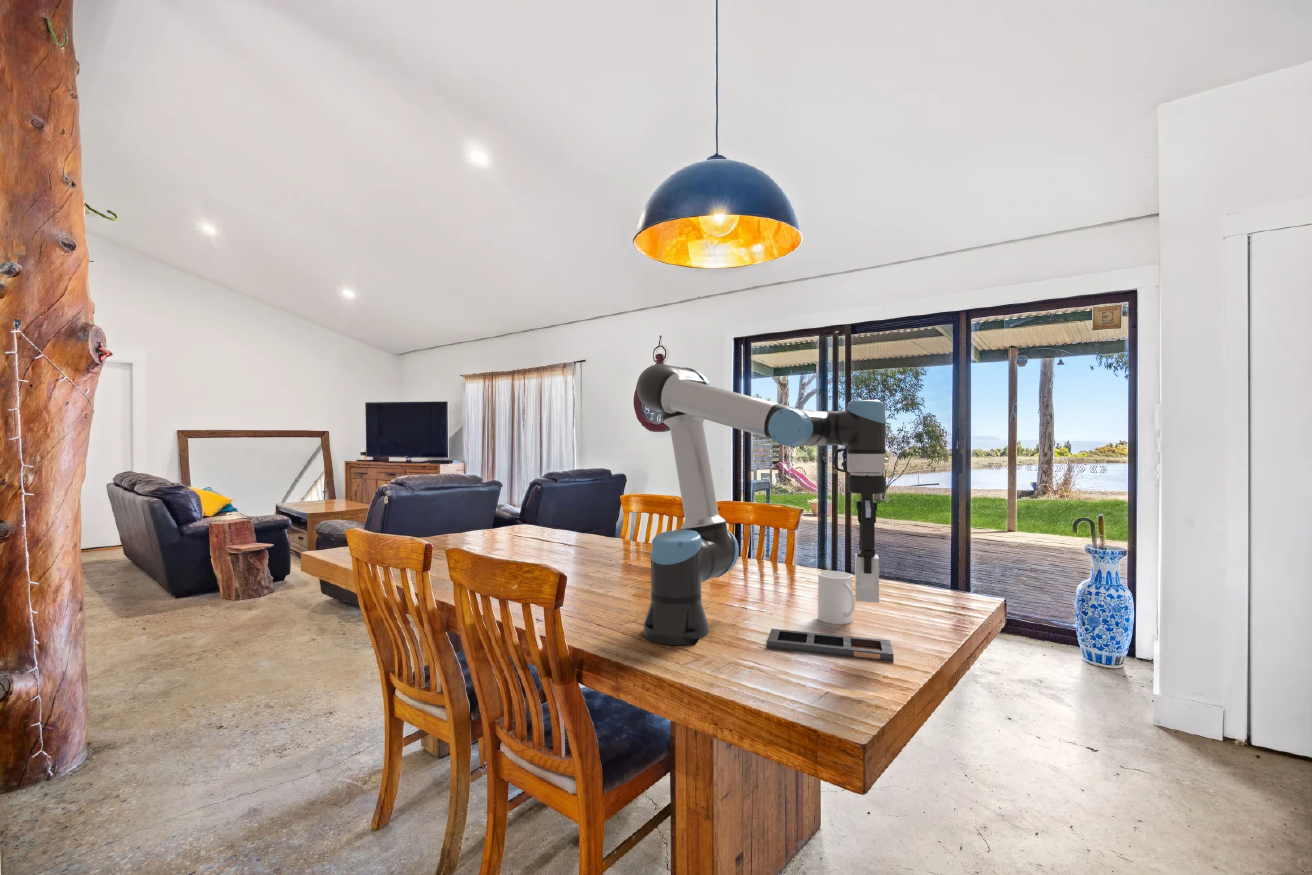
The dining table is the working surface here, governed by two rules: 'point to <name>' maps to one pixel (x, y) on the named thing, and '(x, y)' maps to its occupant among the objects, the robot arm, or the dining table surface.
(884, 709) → the dining table surface
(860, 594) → the grey block with knob
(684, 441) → the robot arm
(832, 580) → the mug
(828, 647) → the tray with compartments
